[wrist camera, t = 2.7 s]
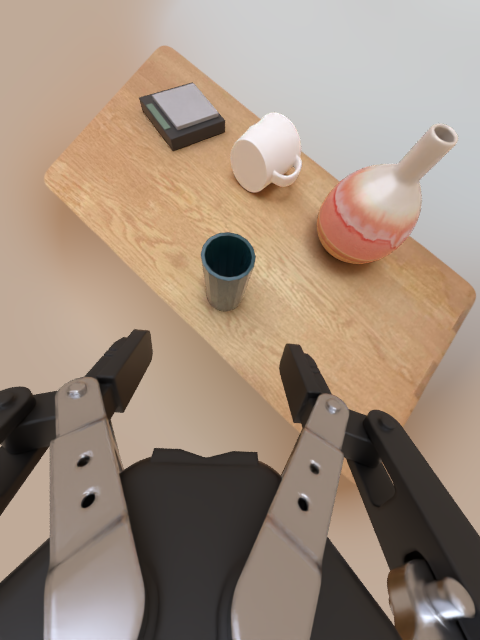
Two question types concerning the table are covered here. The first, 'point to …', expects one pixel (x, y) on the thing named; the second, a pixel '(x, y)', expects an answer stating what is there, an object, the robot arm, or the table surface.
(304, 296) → the table surface
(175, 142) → the scale
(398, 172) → the vase
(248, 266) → the cup
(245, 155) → the mug
